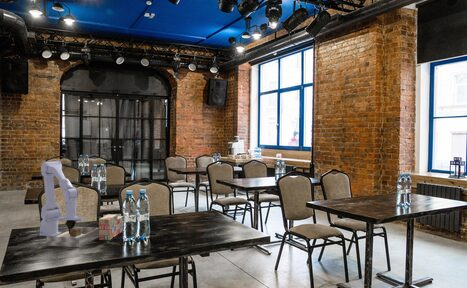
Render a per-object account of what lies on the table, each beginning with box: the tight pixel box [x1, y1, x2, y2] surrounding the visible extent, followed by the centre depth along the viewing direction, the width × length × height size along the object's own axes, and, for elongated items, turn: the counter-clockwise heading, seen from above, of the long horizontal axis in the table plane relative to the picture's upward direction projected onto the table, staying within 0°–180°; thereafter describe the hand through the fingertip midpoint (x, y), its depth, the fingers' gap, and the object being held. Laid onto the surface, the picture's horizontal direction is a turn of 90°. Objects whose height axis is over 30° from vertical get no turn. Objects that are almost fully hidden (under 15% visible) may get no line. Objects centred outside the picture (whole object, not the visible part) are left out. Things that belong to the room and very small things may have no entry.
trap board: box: [46, 226, 99, 248], centre depth 208 cm, size 19×21×5 cm
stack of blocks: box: [98, 213, 125, 241], centre depth 220 cm, size 21×6×12 cm, turn 175°
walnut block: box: [70, 226, 81, 237], centre depth 208 cm, size 4×4×4 cm
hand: (71, 233), depth 208 cm, fingers closed
